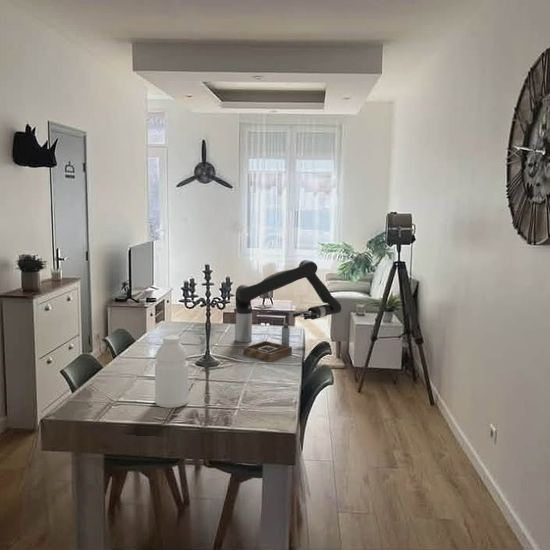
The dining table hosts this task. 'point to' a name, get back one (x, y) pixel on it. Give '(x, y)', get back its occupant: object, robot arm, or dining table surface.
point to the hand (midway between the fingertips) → (298, 316)
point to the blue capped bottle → (285, 334)
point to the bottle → (171, 374)
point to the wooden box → (267, 350)
